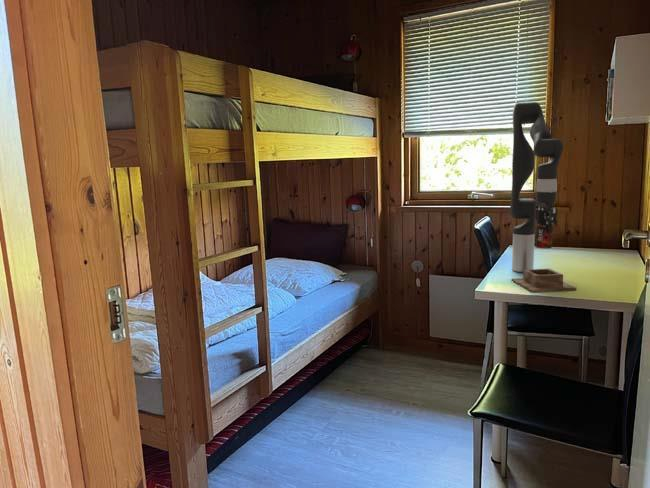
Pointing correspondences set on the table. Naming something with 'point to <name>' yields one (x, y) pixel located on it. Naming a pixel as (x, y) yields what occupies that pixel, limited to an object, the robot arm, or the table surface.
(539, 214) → the deodorant
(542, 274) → the well holder
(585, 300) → the table surface
